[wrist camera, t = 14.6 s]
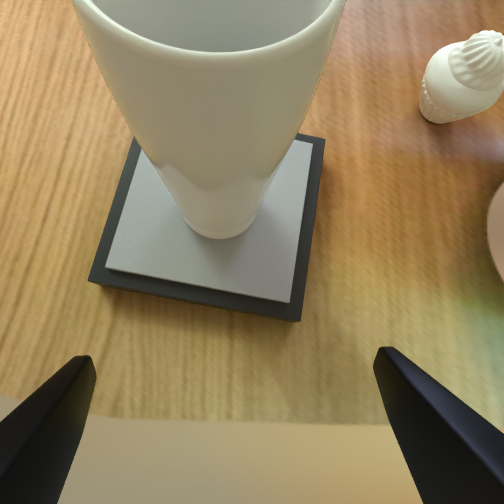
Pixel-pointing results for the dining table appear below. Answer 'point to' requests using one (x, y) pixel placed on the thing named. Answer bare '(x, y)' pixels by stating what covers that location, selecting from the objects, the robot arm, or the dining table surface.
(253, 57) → the white cup
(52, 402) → the robot arm
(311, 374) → the dining table surface
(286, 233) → the scale
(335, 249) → the dining table surface
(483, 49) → the muffin
